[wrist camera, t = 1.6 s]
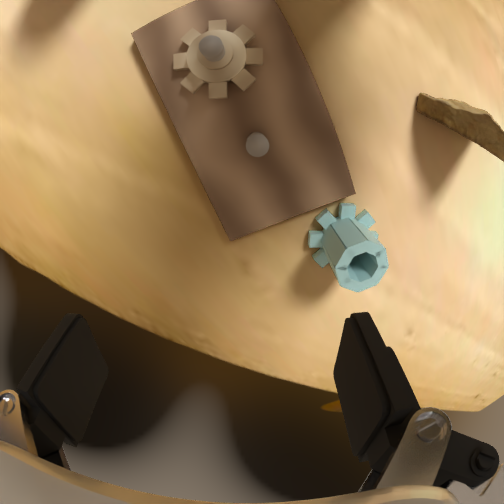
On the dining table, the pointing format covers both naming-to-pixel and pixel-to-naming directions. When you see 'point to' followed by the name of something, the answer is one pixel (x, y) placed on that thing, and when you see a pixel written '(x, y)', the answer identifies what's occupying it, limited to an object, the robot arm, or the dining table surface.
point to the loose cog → (349, 248)
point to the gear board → (246, 111)
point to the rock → (465, 121)
